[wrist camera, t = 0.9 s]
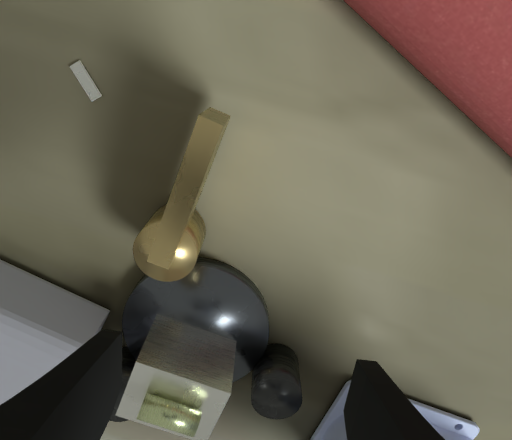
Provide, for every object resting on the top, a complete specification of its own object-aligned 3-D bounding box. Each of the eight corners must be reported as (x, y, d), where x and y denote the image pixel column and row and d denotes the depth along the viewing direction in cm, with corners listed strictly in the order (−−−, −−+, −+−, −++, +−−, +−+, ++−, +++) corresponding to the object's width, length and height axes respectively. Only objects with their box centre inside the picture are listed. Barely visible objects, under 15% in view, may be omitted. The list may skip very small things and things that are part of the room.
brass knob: (194, 262, 22) (178, 308, 18) (143, 243, 22) (113, 285, 17) (251, 121, 19) (248, 136, 15) (193, 96, 19) (172, 104, 15)
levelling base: (395, 193, 21) (446, 241, 15) (263, 426, 27) (263, 526, 21) (72, 56, 19) (-14, 50, 13) (6, 342, 25) (-74, 426, 19)
